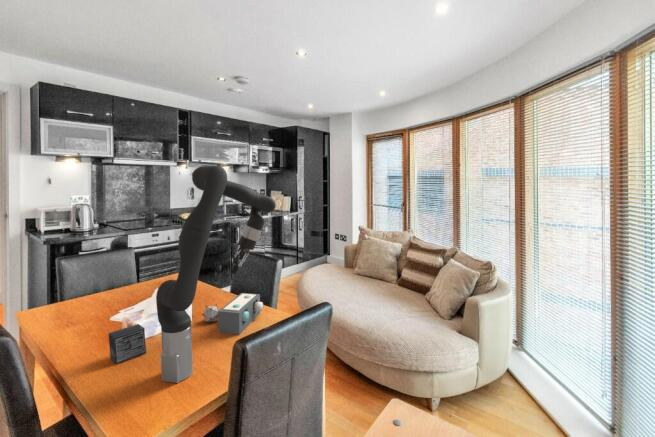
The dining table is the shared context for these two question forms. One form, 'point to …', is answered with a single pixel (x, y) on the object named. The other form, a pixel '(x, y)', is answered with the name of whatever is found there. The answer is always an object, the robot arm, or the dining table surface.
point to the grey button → (258, 306)
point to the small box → (127, 343)
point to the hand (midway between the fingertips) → (234, 273)
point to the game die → (211, 313)
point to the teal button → (245, 316)
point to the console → (237, 314)
